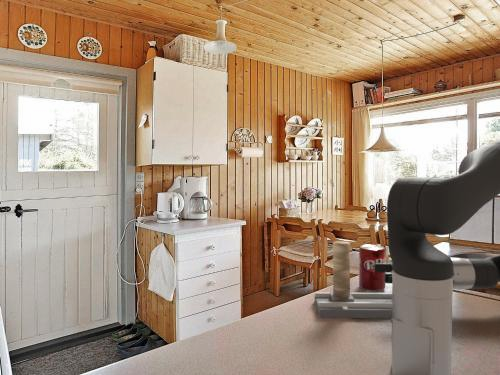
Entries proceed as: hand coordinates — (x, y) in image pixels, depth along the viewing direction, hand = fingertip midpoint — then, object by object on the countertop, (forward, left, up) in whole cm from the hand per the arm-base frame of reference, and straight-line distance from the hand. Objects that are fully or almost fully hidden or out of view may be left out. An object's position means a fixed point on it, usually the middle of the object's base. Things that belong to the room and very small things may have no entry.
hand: (379, 272), depth 88 cm
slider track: (-2, +2, -9) cm, 10 cm away
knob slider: (-6, +7, -7) cm, 11 cm away
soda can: (+14, +8, -10) cm, 19 cm away
